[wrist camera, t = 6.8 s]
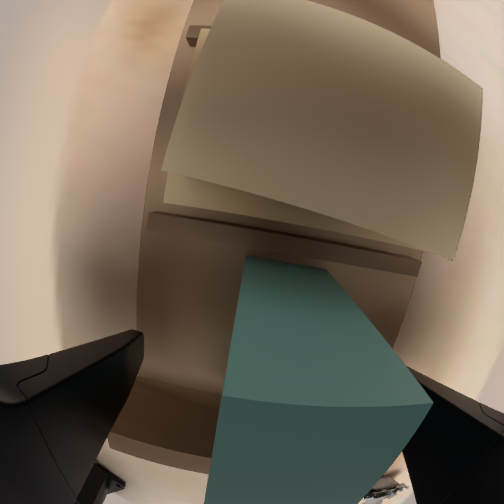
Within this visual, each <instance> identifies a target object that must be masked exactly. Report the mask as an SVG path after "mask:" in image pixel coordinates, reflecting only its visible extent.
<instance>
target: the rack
mask: <svg viewBox="0 0 504 504" xmlns="http://www.w3.org/2000/svg"><path fill="white" fill-rule="evenodd" d="M223 1H224V0H194V1H193V4H192V6H191V9H190V12H189V15H188V18H187V20H186V23H185V26H184V29H183V32H182V35H181V39H180V42H179V45H178V48H177V51H176V55H175V58H174V62H173V65H172V69H171V72H170V76H169V80H168V84H167V88H166V92H165V96H164V100H163V104H162V109H161V113H160V117H159V122H158V127H157V132H156V137H155V142H154V147H153V153H152V159H151V164H150V171H149V177H148V184H147V191H146V198H145V206H144V214H143V223H142V233H141V244H140V256H139V271H138V290H137V331H140V332H143V334H144V359H143V362H142V364H141V367H140V369H139V372H138V376H137V377H136V380H135V382H134V385H133V387H132V390H131V392H130V395H129V397H128V399H127V401H126V403H125V405H124V407H123V408H122V410H121V412H120V414H119V416H118V418H117V420H116V421H115V423H114V425H113V427H112V429H111V431H110V433H109V435H108V437H107V438H108V442H109V446H110V448H112V449H114V450H117V451H120V452H123V453H126V454H129V455H132V456H135V457H138V458H142V459H145V460H149V461H152V462H156V463H159V464H163V465H167V466H171V467H175V468H180V469H184V470H189V471H194V472H199V473H205V474H209V470H210V464H211V458H212V452H213V446H214V440H215V434H216V428H217V421H218V415H219V409H220V403H221V397H222V391H223V385H224V379H225V374H226V368H227V362H228V356H229V350H230V344H231V338H232V333H233V327H234V321H235V315H236V309H237V304H238V298H239V292H240V286H241V281H242V275H243V269H244V264H245V258H246V255H247V256H253V257H259V258H265V259H270V260H276V261H282V262H287V263H293V264H299V265H305V266H310V267H316V268H322V269H327V270H328V272H329V273H330V274H331V275H332V276H333V277H334V279H335V280H336V281H337V282H338V283H339V284H340V286H341V287H342V288H343V289H344V290H345V291H346V293H347V294H348V295H349V296H350V297H351V299H352V300H353V301H354V302H355V303H356V305H357V306H358V307H359V308H360V309H361V311H362V312H363V313H364V314H365V315H366V317H367V318H368V319H369V320H370V321H371V323H372V324H373V325H374V326H375V328H376V329H377V330H378V331H379V333H380V334H381V335H382V336H383V338H384V339H385V340H386V341H387V343H388V344H389V345H390V346H391V348H393V345H394V343H395V340H396V337H397V335H398V332H399V329H400V327H401V324H402V321H403V318H404V315H405V312H406V309H407V306H408V303H409V300H410V297H411V293H412V290H413V287H414V283H415V280H416V277H418V273H419V269H420V266H421V257H422V253H423V251H422V250H417V249H413V248H409V247H404V246H400V245H395V244H391V243H386V242H381V241H377V240H372V239H367V238H362V237H358V236H353V235H348V234H343V233H338V232H333V231H328V230H323V229H318V228H312V227H307V226H302V225H296V224H291V223H286V222H280V221H275V220H269V219H263V218H257V217H252V216H246V215H240V214H234V213H228V212H222V211H215V210H209V209H203V208H196V207H190V206H183V205H176V204H169V203H163V201H164V193H165V187H166V180H167V174H168V172H167V171H163V170H161V169H162V165H163V162H164V158H165V154H166V151H167V147H168V144H169V141H170V137H171V134H172V131H173V127H174V124H175V121H176V118H177V115H178V112H179V109H180V106H181V102H182V98H183V93H184V89H185V85H186V81H187V77H188V73H189V69H190V66H191V62H192V58H193V55H194V51H195V48H196V44H197V41H198V37H199V34H200V31H201V28H204V29H210V28H211V26H212V24H213V22H214V19H215V17H216V15H217V13H218V11H219V9H220V7H221V5H222V3H223ZM308 1H311V2H315V3H318V4H321V5H325V6H328V7H331V8H334V9H337V10H340V11H342V12H345V13H348V14H351V15H353V16H356V17H358V18H361V19H363V20H366V21H368V22H371V23H373V24H375V25H378V26H380V27H382V28H384V29H386V30H389V31H391V32H393V33H395V34H397V35H399V36H401V37H403V38H405V39H407V40H409V41H410V42H412V43H414V44H416V45H418V46H420V47H421V48H423V49H425V50H427V51H428V52H430V53H432V54H433V55H435V56H437V57H438V58H440V46H439V36H438V28H437V20H436V14H435V8H434V2H433V0H308ZM440 59H441V58H440Z"/></svg>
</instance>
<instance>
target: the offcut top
mask: <svg viewBox="0 0 504 504" xmlns="http://www.w3.org/2000/svg"><path fill="white" fill-rule="evenodd" d="M482 96H483V88H481V87H480V86H479V85H477V84H476V83H475V82H473V81H472V80H471V79H469V78H468V77H467V76H465V75H464V74H462V73H461V72H460V71H458V70H457V69H455V68H454V67H452V66H451V65H449V64H448V63H446V62H445V61H443V60H441V59H440V58H438V57H437V56H435V55H433V54H432V53H430V52H428V51H427V50H425V49H423V48H421V47H420V46H418V45H416V44H414V43H412V42H410V41H409V40H407V39H405V38H403V37H401V36H399V35H397V34H395V33H393V32H391V31H389V30H386V29H384V28H382V27H380V26H378V25H375V24H373V23H371V22H368V21H366V20H363V19H361V18H358V17H356V16H353V15H351V14H348V13H345V12H342V11H340V10H337V9H334V8H331V7H328V6H325V5H321V4H318V3H315V2H311V1H308V0H224V1H223V3H222V5H221V7H220V9H219V11H218V13H217V15H216V17H215V19H214V22H213V24H212V26H211V28H210V31H209V33H208V35H207V38H206V40H205V42H204V45H203V47H202V49H201V52H200V54H199V57H198V59H197V62H196V64H195V67H194V70H193V72H192V75H191V78H190V80H189V83H188V86H187V89H186V91H185V94H184V97H183V100H182V103H181V106H180V109H179V112H178V115H177V118H176V121H175V124H174V127H173V131H172V134H171V137H170V141H169V144H168V147H167V151H166V154H165V158H164V162H163V165H162V169H161V170H163V171H167V172H171V173H175V174H180V175H184V176H188V177H192V178H196V179H200V180H204V181H208V182H212V183H216V184H220V185H224V186H227V187H231V188H235V189H239V190H242V191H246V192H249V193H253V194H257V195H260V196H264V197H267V198H271V199H274V200H278V201H281V202H284V203H288V204H291V205H294V206H298V207H301V208H304V209H307V210H311V211H314V212H317V213H320V214H323V215H326V216H329V217H333V218H336V219H339V220H342V221H345V222H348V223H351V224H354V225H357V226H360V227H363V228H365V229H368V230H371V231H374V232H377V233H380V234H383V235H385V236H388V237H391V238H394V239H396V240H399V241H402V242H405V243H407V244H410V245H413V246H415V247H418V248H420V249H423V250H426V251H428V252H431V253H433V254H436V255H438V256H441V257H443V258H446V259H448V260H451V261H453V260H454V257H455V253H456V250H457V247H458V244H459V240H460V237H461V233H462V230H463V226H464V222H465V218H466V214H467V210H468V206H469V201H470V197H471V192H472V187H473V182H474V176H475V170H476V164H477V157H478V149H479V141H480V131H481V118H482Z"/></svg>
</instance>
